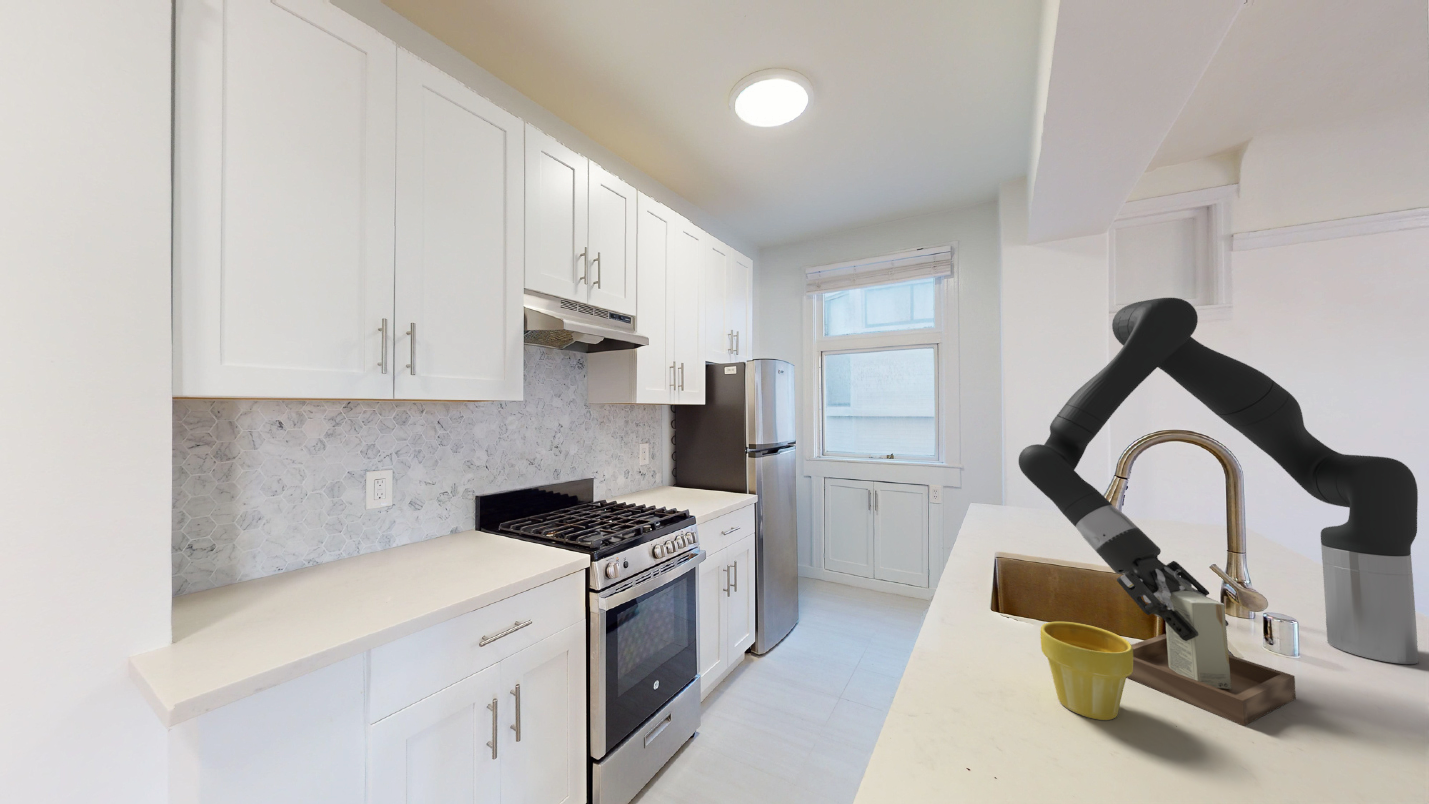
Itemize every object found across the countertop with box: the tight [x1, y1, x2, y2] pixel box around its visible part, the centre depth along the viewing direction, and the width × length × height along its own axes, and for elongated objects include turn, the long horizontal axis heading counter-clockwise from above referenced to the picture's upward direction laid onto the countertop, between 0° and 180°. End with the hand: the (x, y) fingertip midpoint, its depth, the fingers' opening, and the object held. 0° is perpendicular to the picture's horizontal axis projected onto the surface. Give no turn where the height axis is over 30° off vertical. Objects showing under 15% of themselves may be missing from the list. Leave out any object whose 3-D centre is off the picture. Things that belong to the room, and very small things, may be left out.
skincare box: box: [1165, 591, 1231, 689], centre depth 74 cm, size 6×4×12 cm
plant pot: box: [1039, 621, 1133, 721], centre depth 68 cm, size 10×10×10 cm
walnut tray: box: [1126, 633, 1297, 727], centre depth 73 cm, size 15×15×3 cm
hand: (1207, 633), depth 72 cm, fingers open, 8 cm apart
